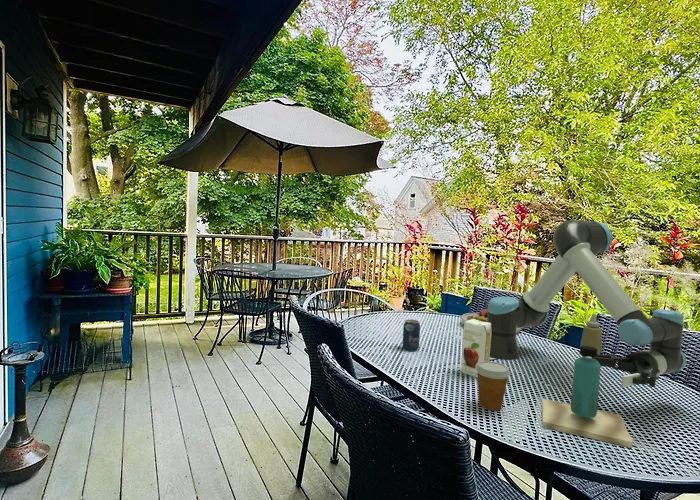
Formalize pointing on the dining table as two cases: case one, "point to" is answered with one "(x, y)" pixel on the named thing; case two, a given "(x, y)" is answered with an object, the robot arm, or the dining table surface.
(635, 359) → the robot arm
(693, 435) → the dining table surface
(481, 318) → the bowl
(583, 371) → the beverage bottle
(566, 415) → the birch board
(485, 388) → the disposable coffee cup
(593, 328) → the squeeze bottle
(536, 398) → the dining table surface
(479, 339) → the juice carton
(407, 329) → the soda can
